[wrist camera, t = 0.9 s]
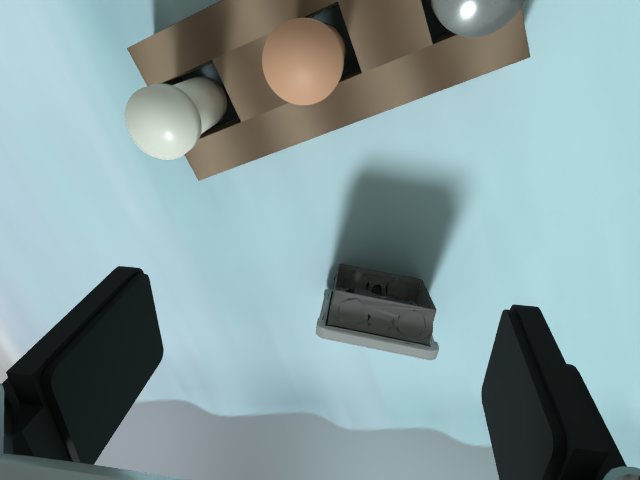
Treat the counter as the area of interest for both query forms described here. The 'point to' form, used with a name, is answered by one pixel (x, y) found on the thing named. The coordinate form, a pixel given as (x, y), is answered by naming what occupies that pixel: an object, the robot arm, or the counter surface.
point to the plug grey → (474, 15)
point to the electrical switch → (379, 313)
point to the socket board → (353, 87)
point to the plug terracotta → (303, 60)
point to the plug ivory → (174, 115)
